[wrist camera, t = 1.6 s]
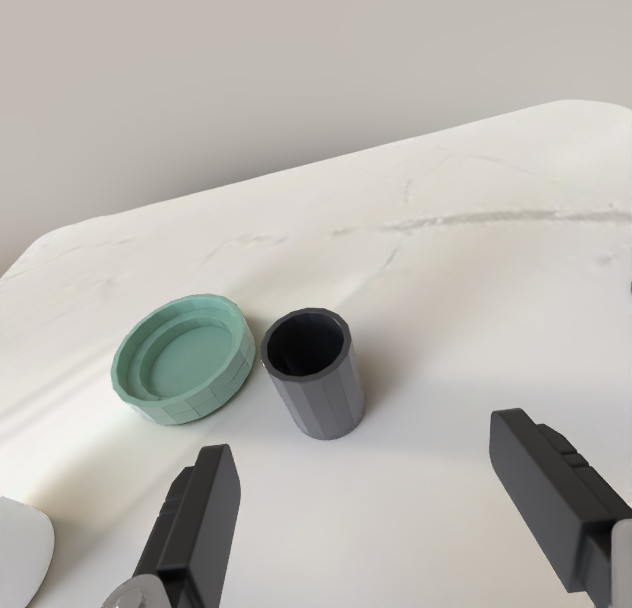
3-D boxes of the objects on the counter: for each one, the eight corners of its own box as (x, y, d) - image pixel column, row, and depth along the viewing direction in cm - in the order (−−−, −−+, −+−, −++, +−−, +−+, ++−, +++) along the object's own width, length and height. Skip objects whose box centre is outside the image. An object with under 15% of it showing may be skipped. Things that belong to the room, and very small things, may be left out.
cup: (339, 360, 34) (320, 294, 28) (380, 411, 30) (369, 347, 23) (280, 397, 33) (246, 337, 26) (315, 456, 28) (284, 401, 22)
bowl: (231, 300, 43) (218, 276, 40) (278, 376, 34) (265, 351, 32) (126, 357, 40) (104, 336, 37) (147, 456, 31) (120, 437, 29)
